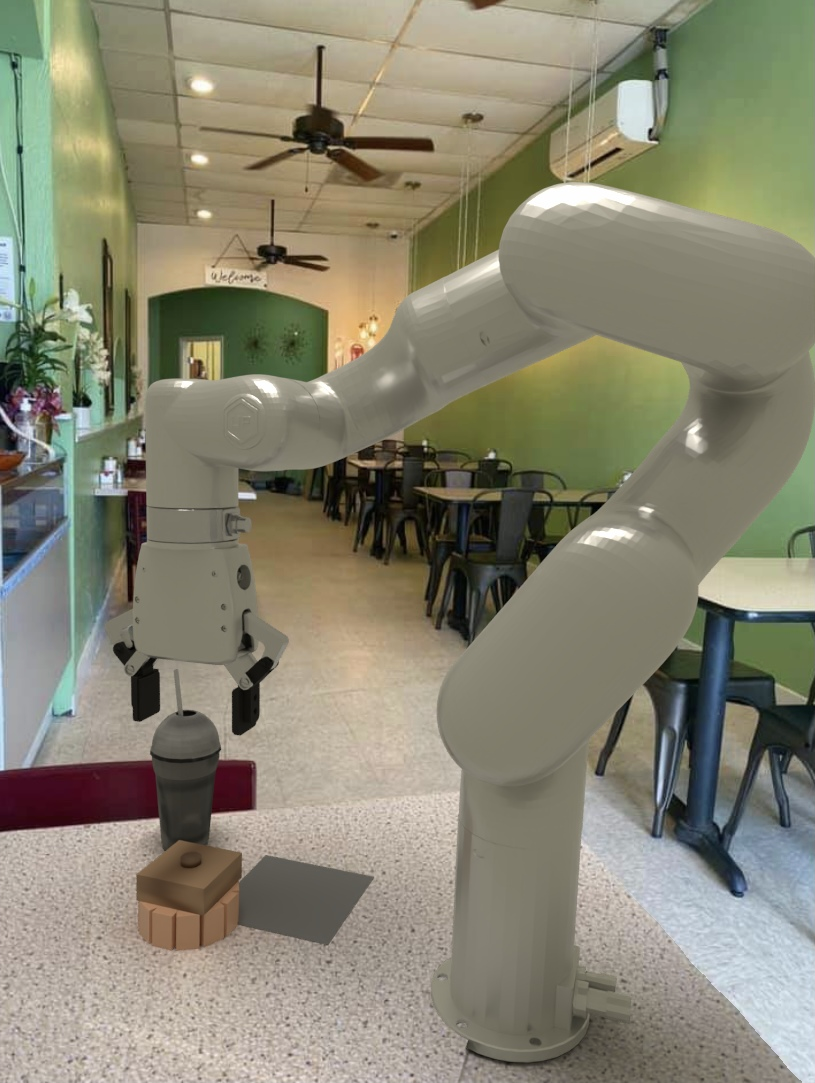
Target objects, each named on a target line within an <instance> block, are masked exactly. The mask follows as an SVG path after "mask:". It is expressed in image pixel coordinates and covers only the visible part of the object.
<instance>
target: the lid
mask: <svg viewBox="0 0 815 1083" xmlns="http://www.w3.org/2000/svg"><path fill="white" fill-rule="evenodd" d="M242 870H243V852H240V851H237V850H236V851H235V850H230V849H225V848H219V847H214V846H210V845H207V846H206V845H201V844H196V843H191V842H186V841H181V840H179V841H177V842H176V843H175V844H174V845H172V846H171V847H170V848H169V849H167V850H166V851H163V853H161V854H160V855H159V856H157V857H156V858H155V859H154V860H152V861H151V862H149V864H147V865H146V866H145V867H144V868H142V869H141V870H140V871H139V872H137V873H136V877H135V878H136V882H135V883H136V884H135V885H136V901H137V902H138V901H141V902H146V903H150V904H154V905H159V906H163V907H167V908H172V909H176V910H180V911H185V912H189V913H194V914H198V915H202V916H204V915H205V914H206V913H207V912H208V911H209V910H210V909H211V908H212V907H213V906H214V905H215V904H216V903H217V902H218V901H219V900H220V899H221V898H222V897H223V896H224V895H225V894H226V893H227V892H228V891H229V890H230V889H231V888H232V887H233V886H234V885H235V884H236V883H237V882H238V881H239V882H240V881H241V880H242V879H243V878H242V877H243V876H242V874H243V873H242V872H243V871H242Z"/></svg>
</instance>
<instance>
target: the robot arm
mask: <svg viewBox="0 0 815 1083" xmlns="http://www.w3.org/2000/svg"><path fill="white" fill-rule="evenodd" d="M595 336H600V337H601V338H605V339H608V340H611V341H614V342H617V343H620V344H623V345H627V346H628V347H632V348H635V349H638V350H642V351H644V352H645V351H646V352H648V353H652V354H655V355H658V356H661V357H664V358H667V359H670V360H673V361H676V362H679V363H681V365H682V366H683V368H684V371H685V372H686V374H687V377H688V381H689V390H688V395H687V399H686V401H685V402H686V403H685V404H684V408H683V409H682V411H681V413H680V415H679V416H678V418H676V420H675V421H674V423H673V424H672V425H671V427H670V428H669V429H668V430H667V431H666V432H665V433H664V434H663V436H662V437H661V438H660V439H659V441H657V443H656V444H655V445H654V446H653V447H652V449H651V450H650V451H649V452H648V453H647V456H646V457H645V458H644V459H643V461H641V463H639V465H638V467H636V468H635V469H634V471H633V472H632V474H630V475H629V476H628V478H626V479H625V481H624V482H623V483H622V484H621V485H620V487H619V488H618V489H616V491H615V492H614V493H613V494H612V495H611V496H610V498H608V500H607V501H606V502H604V504H602V505H601V507H600V508H599V509H597V511H595V512H594V513H593V514H592V515H590V516H589V517H587V518H586V519H584V520H583V521H581V522H579V524H577V525H576V526H575V527H574V528H573V529H572V530H569V532H568V533H567V534H566V535H565V536H564V537H563V538H562V539H561V540H560V541H559V542H558V543H557V544H556V546H554V548H553V549H552V550H551V551H550V552H549V553H548V554H547V556H546V557H545V558H544V559H543V560H542V561H541V563H540V564H538V566H537V567H536V569H535V570H534V571H533V572H532V573H531V574H530V576H528V578H527V579H526V580H525V581H524V582H523V584H522V585H520V587H519V588H518V589H517V591H516V592H515V593H514V594H513V595H512V596H511V597H510V599H509V600H508V601H506V603H505V604H504V605H503V607H502V608H501V609H500V610H499V611H498V612H497V614H496V615H495V616H494V617H493V618H492V620H490V621H489V622H488V624H487V625H486V626H485V627H484V628H483V629H482V631H481V632H480V633H479V634H478V635H477V636H476V637H475V639H474V640H473V641H472V642H471V643H470V644H469V645H468V647H467V648H466V649H464V651H463V653H461V654H460V656H459V657H458V658H457V659H456V660H455V661H454V663H452V665H451V666H450V667H449V669H448V671H447V673H445V676H444V677H443V680H442V682H441V686H440V689H439V691H438V695H437V702H436V722H437V723H436V724H437V728H438V733H439V736H440V739H441V742H442V743H443V746H444V748H445V750H446V752H447V754H448V755H449V756H450V758H451V759H452V760H453V761H454V763H455V764H456V765H457V766H458V767H459V768H460V769H461V770H460V771H461V773H460V784H459V799H458V800H459V801H458V815H457V835H456V853H455V856H456V858H455V873H454V874H455V876H454V892H453V894H454V896H453V897H454V898H453V916H452V938H451V953H450V954H451V956H450V957H448V958H447V959H446V960H445V961H444V962H442V963H441V964H440V965H439V966H438V968H437V969H436V970H435V972H434V974H433V976H432V979H431V982H430V999H431V1002H432V1003H431V1004H432V1005H433V1008H434V1009H435V1012H436V1014H437V1015H438V1017H439V1018H440V1020H442V1021H443V1022H444V1024H445V1025H446V1026H447V1027H449V1028H450V1030H452V1031H453V1032H454V1033H456V1034H457V1035H458V1036H461V1037H462V1038H463V1039H465V1040H467V1042H466V1045H465V1048H467V1049H468V1050H470V1051H473V1052H474V1053H476V1054H478V1055H482V1056H484V1057H488V1058H489V1059H492V1060H498V1061H499V1060H500V1061H504V1062H511V1063H534V1062H544V1061H546V1060H551V1059H555V1058H558V1057H559V1056H562V1055H563V1054H564V1055H565V1054H566V1053H567V1052H570V1051H572V1049H573V1048H575V1047H576V1046H577V1045H578V1044H580V1043H581V1041H582V1040H583V1038H584V1037H585V1036H586V1034H587V1031H588V1028H589V1025H590V1016H591V1015H592V1016H597V1017H601V1018H605V1020H610V1021H613V1022H618V1023H622V1024H627V1025H630V1022H631V1009H632V1007H631V1006H632V995H630V994H625V993H620V992H616V989H617V976H616V975H612V974H608V973H603V972H595V971H590V970H587V966H584V965H580V954H581V947H580V946H578V945H575V938H576V937H575V935H576V925H577V924H576V921H577V908H578V907H577V906H578V891H579V877H580V865H581V864H580V863H581V862H580V860H581V848H582V847H581V845H582V832H583V826H584V811H585V810H584V809H585V795H586V783H587V772H588V759H589V758H588V756H589V748H590V740H591V739H592V737H594V735H596V733H597V732H598V731H599V730H601V728H602V727H603V726H605V724H607V722H608V721H609V720H610V719H611V718H612V717H613V716H614V715H615V714H616V713H617V712H618V711H619V710H620V709H621V708H622V707H623V706H624V705H625V704H626V703H627V701H629V700H630V698H631V697H632V696H633V695H634V694H635V693H636V692H637V691H638V690H639V689H640V688H641V687H642V686H643V685H644V684H645V683H646V682H647V681H648V680H649V679H650V678H651V676H653V675H654V673H656V671H658V669H659V668H660V667H661V666H662V665H663V664H664V663H665V661H666V660H667V659H668V658H669V657H670V656H671V654H672V653H673V652H674V651H675V650H676V648H677V647H678V646H679V644H680V643H681V641H682V640H683V638H684V637H685V635H686V634H687V631H688V630H689V628H690V626H691V624H692V622H693V619H694V617H695V615H696V614H695V613H696V611H697V606H698V600H699V586H700V584H701V583H702V581H703V580H704V579H705V578H706V576H707V575H708V574H709V573H710V572H711V571H712V570H713V568H714V567H715V566H716V565H717V564H718V563H719V562H720V561H721V560H722V558H724V556H726V554H727V553H728V552H729V551H730V550H731V549H732V548H733V546H735V544H736V543H737V542H738V541H739V540H740V539H741V537H742V536H743V535H744V534H745V533H746V532H747V530H748V529H749V528H750V527H751V526H752V525H753V523H754V522H755V521H756V520H757V519H758V518H759V516H760V515H761V514H762V513H763V512H764V511H765V510H766V508H768V506H769V505H770V504H771V503H772V502H773V501H774V499H775V498H776V497H777V495H779V493H780V492H781V490H782V489H783V488H784V487H785V486H786V484H787V482H788V480H789V479H790V478H791V476H792V475H793V473H794V471H795V470H796V469H797V467H798V465H799V463H800V462H801V459H802V457H803V455H804V452H805V451H806V448H807V445H808V442H809V439H810V437H811V436H810V435H811V432H812V427H813V423H814V417H815V416H814V415H815V373H814V368H813V363H812V358H811V355H810V354H811V353H810V350H811V349H812V348H813V347H814V345H815V256H814V255H813V254H812V253H811V252H810V251H809V250H808V249H807V248H805V247H804V245H802V244H801V243H799V242H797V241H796V240H795V239H792V238H791V237H790V236H788V235H786V234H784V233H782V232H780V231H776V230H774V229H771V228H769V227H765V226H762V225H759V224H757V223H752V222H749V221H745V220H741V219H736V218H733V217H729V216H724V215H720V214H717V213H713V212H710V211H709V212H708V211H705V210H701V209H698V208H695V207H694V208H693V207H689V206H685V205H682V204H679V203H676V202H671V201H668V200H665V199H660V198H656V197H653V196H649V195H645V194H641V193H637V192H634V191H629V190H626V189H621V188H619V187H618V188H617V187H614V186H609V185H605V184H604V185H603V184H600V183H595V182H594V183H593V182H584V181H583V182H581V181H580V182H579V181H569V182H563V183H562V182H561V183H557V184H553V185H551V186H546V187H545V188H542V189H540V190H539V191H536V192H535V193H533V194H531V195H530V196H529V197H528V198H526V199H525V200H524V201H523V202H522V203H521V204H520V205H519V206H518V207H517V208H516V210H514V211H513V213H512V214H511V215H510V216H509V218H508V221H507V223H506V225H505V226H504V227H503V231H502V234H501V237H500V241H499V246H498V249H497V250H495V251H493V252H491V253H489V254H487V255H485V256H483V257H481V258H479V259H478V260H475V261H474V262H471V263H469V264H468V265H466V266H463V267H462V268H460V269H457V270H456V271H454V272H452V273H450V274H448V275H445V276H443V277H441V278H439V279H438V280H436V281H433V282H431V283H430V284H428V285H425V286H423V287H422V288H419V289H417V290H415V291H413V292H411V293H410V294H408V295H407V296H406V297H404V298H403V300H402V301H401V302H400V303H399V305H398V307H396V311H395V313H394V316H393V318H392V321H391V323H390V326H389V328H388V330H387V331H386V333H385V334H384V336H383V337H382V338H381V339H380V340H379V341H378V342H377V343H376V344H375V345H374V346H372V347H371V348H370V349H368V350H367V351H366V352H364V353H363V354H361V355H360V356H358V357H356V358H354V359H353V360H351V361H349V362H347V363H346V364H343V365H341V366H340V367H337V368H336V369H333V370H331V371H329V372H326V373H324V374H322V375H321V376H319V377H317V378H314V379H311V380H310V381H303V380H297V379H292V378H288V377H287V378H286V377H280V376H275V375H270V374H259V373H258V374H255V373H254V374H245V375H237V376H233V377H227V378H222V379H215V380H210V379H202V378H201V379H200V378H165V379H159V380H157V381H154V382H153V383H151V384H150V385H149V387H147V389H146V390H147V391H146V393H145V399H144V402H145V403H144V404H145V405H144V406H145V408H144V412H145V413H144V415H145V416H144V418H145V419H144V420H145V421H144V422H145V423H144V424H145V429H144V430H145V479H146V480H145V483H146V486H145V489H146V491H145V492H146V496H145V497H146V502H145V503H146V542H143V543H141V545H140V550H139V554H138V560H137V562H136V563H137V564H136V569H135V570H136V571H135V579H134V586H133V588H134V589H133V601H132V602H133V603H132V608H131V609H129V610H127V611H125V612H123V613H121V614H119V615H117V616H115V617H114V618H111V619H109V620H108V621H106V622H105V623H104V624H103V625H104V630H105V632H106V634H107V636H108V639H109V641H110V644H111V645H113V646H112V652H113V653H114V655H115V656H116V657H117V659H118V660H119V662H121V664H122V665H123V671H124V674H125V675H126V676H128V677H130V702H131V707H132V720H133V722H139V723H140V722H143V721H145V720H146V719H148V718H150V717H152V716H155V715H157V714H158V713H160V711H161V684H160V683H161V673H160V672H159V670H160V669H159V668H154V666H155V664H156V663H157V662H158V661H159V660H166V661H175V662H182V663H183V662H186V663H192V664H193V663H194V664H203V665H213V666H224V667H225V669H226V670H227V672H228V673H229V674H230V676H231V677H232V678H233V680H234V681H235V683H236V684H237V687H235V688H233V689H232V691H231V732H232V734H233V735H235V736H243V735H244V734H245V733H246V732H248V731H249V730H251V729H253V728H254V727H255V726H256V725H257V722H258V721H259V718H260V713H261V712H260V707H261V705H260V704H261V703H260V701H261V700H260V699H261V698H260V694H261V691H260V690H261V688H260V686H261V684H260V683H261V682H263V681H265V680H266V678H267V677H268V675H269V674H271V673H272V672H273V670H275V669H276V668H277V667H278V665H279V663H280V662H279V661H280V659H281V658H282V657H283V655H284V653H285V650H286V649H287V647H288V645H289V640H290V639H289V637H288V636H287V635H286V634H285V633H283V632H282V631H280V630H279V629H277V628H275V627H274V626H272V625H271V624H270V623H268V622H266V621H265V620H263V619H262V618H261V617H259V611H258V598H257V588H256V581H255V573H254V567H253V563H252V559H251V554H250V550H249V546H248V544H246V543H240V542H239V539H240V538H241V534H242V533H245V534H247V533H248V534H249V533H250V532H251V530H252V527H253V526H252V525H253V524H252V520H251V518H250V517H249V516H243V515H241V508H240V507H239V469H240V470H246V471H254V472H276V471H277V472H281V471H287V470H288V471H289V470H311V469H312V470H313V469H317V468H320V467H321V468H322V467H324V466H328V465H330V464H333V463H335V462H339V460H342V459H345V458H346V457H349V456H351V455H353V454H355V453H357V452H360V451H363V450H364V449H366V448H368V447H371V446H373V445H376V444H377V443H380V442H382V441H384V440H387V439H388V438H390V437H392V436H395V435H396V434H398V433H400V432H402V431H403V430H406V429H407V428H408V427H409V428H410V426H412V425H415V424H416V423H417V422H419V421H421V420H423V419H425V418H427V417H429V416H431V415H432V414H435V413H438V412H439V411H440V410H442V409H443V408H445V407H446V406H447V405H449V404H451V403H453V402H455V401H456V400H459V399H460V398H462V397H464V396H467V395H469V394H470V393H473V392H475V391H478V390H479V389H482V388H484V387H486V386H488V385H491V384H492V383H495V382H497V381H499V380H501V379H503V378H506V377H508V376H510V375H512V374H514V373H516V372H518V371H521V370H524V369H526V368H527V367H530V366H532V365H534V364H537V363H539V362H541V361H543V360H546V359H548V358H550V357H552V356H554V355H557V354H558V353H561V352H564V351H567V350H569V349H570V348H572V347H575V346H577V345H579V344H581V343H583V342H585V341H587V340H589V339H591V338H593V337H595ZM131 627H132V639H131V634H130V631H129V629H130V628H131ZM259 642H260V643H262V645H263V647H264V650H263V653H262V656H261V658H260V659H259V660H258V659H256V657H255V656H254V654H253V653H254V652H256V651H257V650H258V647H259ZM440 977H444V978H446V979H444V980H441V979H440ZM458 1024H465V1025H466V1026H465V1027H460V1026H458Z"/></svg>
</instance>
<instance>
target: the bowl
mask: <svg viewBox="0 0 815 1083" xmlns="http://www.w3.org/2000/svg"><path fill="white" fill-rule="evenodd" d="M239 882H240V880H239V881H238V882H237V883H236V884H235V885H234V886H233V887H232V888H231V889H230V890H229V891H228V892H227V893H226V894H225V895H224V896H223V897H222V898H221V899H220V900H219V901H218V902H217V903H216V904H215V905H214V906H213V907H212V908H211V909H210V910H209V911H208V912H207V913H206V914H205V915H204V916H202V915H198V914H194V913H189V912H185V911H180V910H176V909H172V908H167V907H163V906H159V905H154V904H150V903H146V902H141V901H137V902H138V904H137V905H138V906H137V907H138V908H137V909H138V913H137V914H138V916H137V917H138V918H137V920H138V922H137V923H138V927H137V928H138V935H139V936H140V937H141V938H142V939H143V940H144V941H145V942H146V943H147V944H148V945H150V944H151V946H152V947H155V948H158V949H164V950H167V951H173V950H174V949H175V948H176V949H175V951H176V952H180V951H188V950H198V949H199V950H200V945H201V946H202V947H203V948H206V947H208V946H210V945H213V944H216V943H217V942H219V941H222V940H224V937H226V938H227V937H228V936H229V935H230V934H231V933H232V932H233V931H234V930H235V929H236V927H237V926H238V922H239Z"/></svg>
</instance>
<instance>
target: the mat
mask: <svg viewBox="0 0 815 1083" xmlns="http://www.w3.org/2000/svg"><path fill="white" fill-rule="evenodd" d="M374 878H375V876H372V875H367V874H363V873H357V872H353V871H348V870H344V869H343V870H342V869H338V868H332V867H328V866H322V865H318V864H313V863H308V862H303V861H297V860H294V859H293V860H292V859H287V858H282V857H278V856H272V855H268V854H267V855H266V854H265V856H263V857H262V858H261V860H259V862H257V863H256V864H255V866H253V867H252V868H251V869H250V871H248V873H247V874H246V875H244V877H243V878H241V879H240V880H239V922H238V925H239V926H243V927H247V928H252V929H255V930H260V931H264V932H269V933H273V934H278V935H281V936H285V937H290V938H295V939H299V940H304V941H308V942H312V943H316V944H321V945H324V946H329V944H330V943H331V942H332V940H333V939H334V937H335V935H336V934H337V932H339V930H340V928H341V927H342V925H343V924H344V923H345V921H346V920H347V918H348V916H349V915H350V914H351V912H352V911H353V909H354V908H355V906H356V905H357V904H358V902H359V900H360V899H361V898H362V896H363V894H364V893H365V891H366V890H367V889H368V887H369V885H370V884H371V882H372V881H373V880H374ZM238 925H237V926H238Z"/></svg>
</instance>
